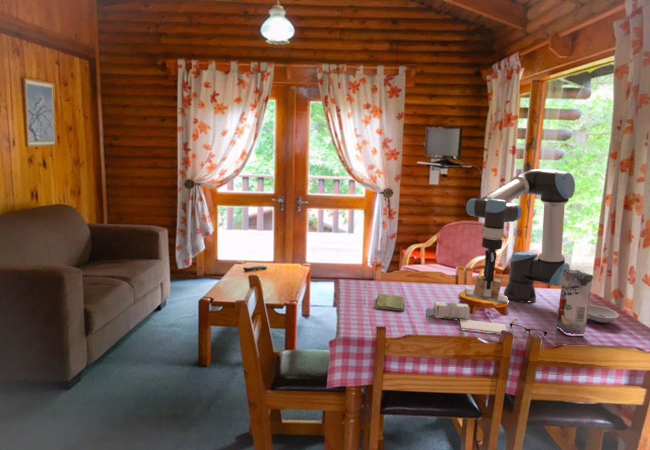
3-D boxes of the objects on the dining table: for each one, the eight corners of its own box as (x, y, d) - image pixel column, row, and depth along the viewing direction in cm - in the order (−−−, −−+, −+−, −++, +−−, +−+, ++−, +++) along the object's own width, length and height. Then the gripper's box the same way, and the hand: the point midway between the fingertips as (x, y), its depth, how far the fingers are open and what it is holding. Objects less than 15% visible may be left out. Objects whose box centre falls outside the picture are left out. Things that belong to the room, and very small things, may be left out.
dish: (572, 314, 235) (574, 303, 234) (605, 316, 234) (606, 305, 233) (589, 328, 217) (591, 316, 216) (624, 330, 216) (626, 319, 216)
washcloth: (374, 310, 227) (375, 303, 227) (377, 298, 245) (377, 292, 244) (404, 313, 225) (405, 306, 225) (405, 301, 243) (405, 294, 242)
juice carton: (574, 328, 216) (582, 266, 211) (587, 338, 205) (596, 272, 201) (553, 327, 215) (561, 265, 211) (565, 337, 205) (574, 271, 200)
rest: (504, 326, 213) (504, 324, 213) (507, 335, 204) (508, 332, 204) (459, 321, 217) (460, 319, 217) (461, 330, 207) (461, 327, 207)
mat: (463, 312, 229) (463, 312, 229) (464, 321, 218) (464, 320, 218) (426, 308, 232) (426, 308, 232) (426, 316, 221) (426, 316, 221)
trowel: (503, 298, 211) (508, 280, 209) (506, 304, 203) (511, 285, 201) (464, 290, 213) (468, 272, 212) (465, 296, 206) (469, 277, 204)
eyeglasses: (508, 333, 208) (509, 323, 207) (516, 323, 220) (517, 314, 219) (545, 341, 200) (546, 332, 200) (552, 331, 212) (553, 322, 212)
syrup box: (466, 316, 223) (432, 314, 224) (467, 303, 223) (433, 301, 223) (469, 320, 218) (434, 318, 219) (470, 307, 217) (435, 305, 218)
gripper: (480, 233, 213) (475, 287, 217) (484, 241, 196) (478, 299, 200) (499, 235, 212) (493, 289, 216) (505, 243, 195) (498, 302, 199)
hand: (486, 294), depth 208 cm, fingers closed on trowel, 4 cm apart
